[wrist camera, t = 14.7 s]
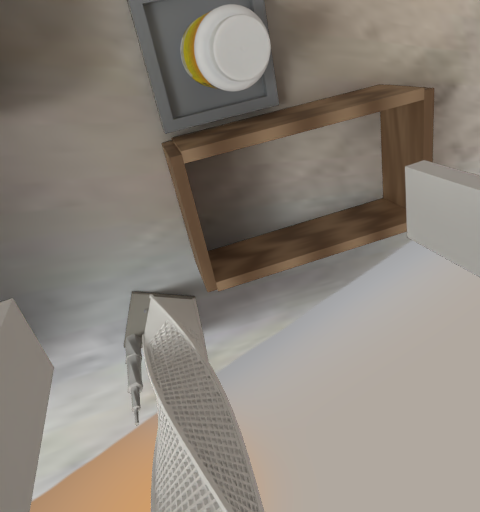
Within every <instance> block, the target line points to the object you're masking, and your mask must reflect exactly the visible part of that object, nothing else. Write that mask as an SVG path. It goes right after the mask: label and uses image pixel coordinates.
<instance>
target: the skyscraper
mask: <svg viewBox="0 0 480 512" xmlns="http://www.w3.org/2000/svg"><path fill="white" fill-rule="evenodd" d="M124 347H125V348H126V363H125V364H127V373H128V393H130V394H131V396H132V411H133V412H134V413H135V425H136V426H137V425H139V419H138V411H140V408H141V407H140V393H141V392H142V389H143V384H142V380H141V361H142V355H141V348H143V354H144V360H145V365H146V369H147V373H148V376H149V379H150V382H151V385H152V387H153V390H154V392H155V395H156V400H157V409H158V432H157V438H156V444H155V450H154V459H153V470H152V488H151V512H264V509H263V505H262V502H261V498H260V494H259V491H258V487H257V483H256V480H255V477H254V473H253V470H252V466H251V463H250V459H249V456H248V453H247V450H246V446H245V443H244V440H243V437H242V434H241V431H240V428H239V426H238V423H237V420H236V418H235V415H234V412H233V410H232V407H231V405H230V403H229V400H228V398H227V396H226V394H225V391H224V389H223V387H222V385H221V383H220V381H219V379H218V378H217V376H216V374H215V372H214V370H213V368H212V367H211V365H210V364H209V362H208V356H207V351H206V346H205V341H204V336H203V331H202V326H201V321H200V317H199V312H198V308H197V303H196V299H195V296H183V295H170V294H157V293H143V292H132V294H131V301H130V307H129V314H128V321H127V327H126V334H125V341H124Z"/></svg>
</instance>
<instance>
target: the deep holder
mask: <svg viewBox="0 0 480 512" xmlns="http://www.w3.org/2000/svg"><path fill="white" fill-rule="evenodd" d="M376 112H380V117H381V146H382V175H383V198H382V199H379V200H375V201H372V202H369V203H365V204H362V205H359V206H356V207H352V208H349V209H346V210H342V211H339V212H336V213H332V214H329V215H326V216H322V217H319V218H316V219H313V220H309V221H306V222H303V223H299V224H296V225H293V226H289V227H286V228H283V229H279V230H276V231H273V232H270V233H266V234H263V235H260V236H256V237H253V238H250V239H246V240H243V241H240V242H236V243H233V244H230V245H227V246H223V247H220V248H217V249H213V250H210V251H207V247H206V243H205V239H204V236H203V232H202V228H201V224H200V221H199V217H198V213H197V209H196V206H195V202H194V198H193V194H192V191H191V187H190V183H189V179H188V176H187V172H186V168H185V163H189V162H192V161H196V160H200V159H204V158H207V157H211V156H215V155H219V154H222V153H226V152H230V151H234V150H237V149H241V148H245V147H249V146H252V145H256V144H260V143H264V142H267V141H271V140H275V139H279V138H282V137H286V136H290V135H294V134H297V133H301V132H305V131H308V130H312V129H316V128H320V127H323V126H327V125H331V124H335V123H338V122H342V121H346V120H350V119H353V118H357V117H361V116H365V115H368V114H372V113H376ZM433 119H434V88H426V87H411V86H397V85H376V86H372V87H368V88H364V89H360V90H356V91H352V92H349V93H345V94H341V95H337V96H333V97H329V98H325V99H321V100H317V101H313V102H310V103H306V104H302V105H298V106H294V107H290V108H286V109H282V110H278V111H274V112H271V113H267V114H263V115H259V116H255V117H251V118H247V119H243V120H239V121H235V122H232V123H228V124H224V125H220V126H216V127H212V128H208V129H204V130H200V131H196V132H193V133H189V134H185V135H181V136H177V137H173V138H171V139H172V141H168V142H165V143H162V146H163V150H164V153H165V157H166V160H167V164H168V167H169V171H170V174H171V178H172V181H173V185H174V188H175V192H176V195H177V199H178V202H179V206H180V209H181V213H182V216H183V219H184V223H185V226H186V230H187V233H188V237H189V240H190V244H191V247H192V251H193V254H194V258H195V261H196V264H197V266H198V269H199V272H200V274H201V277H202V279H203V282H204V284H205V287H206V289H207V292H211V291H214V290H217V289H218V291H221V290H225V289H228V288H231V287H234V286H237V285H240V284H243V283H247V282H250V281H253V280H256V279H259V278H262V277H265V276H269V275H272V274H275V273H278V272H281V271H284V270H287V269H291V268H294V267H297V266H300V265H303V264H306V263H309V262H312V261H316V260H319V259H322V258H325V257H328V256H331V255H334V254H338V253H341V252H344V251H347V250H350V249H353V248H356V247H360V246H363V245H366V244H369V243H372V242H375V241H378V240H381V239H385V238H388V237H391V236H394V235H397V234H400V233H403V232H407V218H406V185H405V166H408V165H411V164H414V163H417V162H420V161H423V160H426V161H429V162H432V160H433Z"/></svg>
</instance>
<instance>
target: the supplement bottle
mask: <svg viewBox="0 0 480 512" xmlns="http://www.w3.org/2000/svg"><path fill="white" fill-rule="evenodd" d="M270 51H271V44H270V38H269V35H268V32H267V29H266V27H265V25H264V24H263V22H262V21H261V19H260V18H259V17H258V16H257V15H256V14H255V13H254V12H253V11H251V10H250V9H248V8H246V7H244V6H241V5H236V4H228V5H223V6H220V7H218V8H215V9H213V10H212V11H210V12H208V13H206V14H204V15H203V16H201V17H199V18H197V19H196V20H194V21H193V22H192V23H191V24H190V25H189V26H188V28H187V29H186V30H185V32H184V34H183V37H182V40H181V45H180V54H181V60H182V63H183V66H184V68H185V70H186V72H187V73H188V74H189V75H190V77H191V78H192V79H193V80H195V81H196V82H198V83H199V84H201V85H204V86H207V87H211V88H215V89H220V90H224V91H241V90H244V89H247V88H249V87H250V86H252V85H253V84H255V83H256V82H257V81H258V80H259V79H260V78H261V76H262V75H263V73H264V71H265V69H266V67H267V65H268V62H269V57H270Z"/></svg>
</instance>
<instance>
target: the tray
mask: <svg viewBox="0 0 480 512" xmlns="http://www.w3.org/2000/svg"><path fill="white" fill-rule="evenodd" d="M127 2H128V5H129V9H130V12H131V16H132V20H133V23H134V27H135V30H136V34H137V37H138V41H139V44H140V48H141V52H142V55H143V59H144V62H145V66H146V69H147V73H148V77H149V80H150V84H151V87H152V91H153V94H154V98H155V102H156V105H157V109H158V112H159V116H160V119H161V123H162V127H163V130H164V132H165V134H167V133H170V132H174V131H178V130H182V129H186V128H190V127H194V126H198V125H202V124H206V123H210V122H214V121H218V120H222V119H226V118H229V117H233V116H237V115H241V114H245V113H249V112H253V111H257V110H261V109H265V108H269V107H273V106H277V105H279V100H278V93H277V86H276V79H275V73H274V66H273V59H272V52H271V51H270V57H269V62H268V65H267V67H266V69H265V71H264V73H263V75H262V76H261V78H260V79H259V80H258V81H257V82H256V83H255V84H253V85H252V86H250V87H249V88H247V89H244V90H241V91H224V90H220V89H215V88H211V87H207V86H204V85H201V84H199V83H198V82H196V81H195V80H193V79H192V78H191V77H190V75H189V74H188V73H187V72H186V70H185V68H184V66H183V63H182V60H181V54H180V45H181V40H182V37H183V34H184V32H185V30H186V29H187V28H188V26H189V25H190V24H191V23H192V22H193V21H194V20H196V19H197V18H199V17H201V16H203V15H204V14H206V13H208V12H210V11H212V10H213V9H215V8H218V7H220V6H223V5H228V4H236V5H241V6H244V7H246V8H248V9H250V10H251V11H253V12H254V13H255V14H256V15H257V16H258V17H259V18H260V19H261V21H262V22H263V24H264V25H265V27H266V29H267V32H268V35H269V31H268V24H267V18H266V11H265V4H264V0H127Z"/></svg>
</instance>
